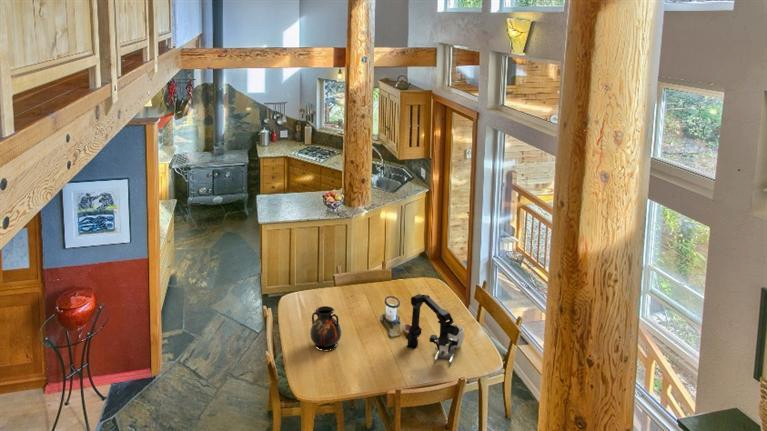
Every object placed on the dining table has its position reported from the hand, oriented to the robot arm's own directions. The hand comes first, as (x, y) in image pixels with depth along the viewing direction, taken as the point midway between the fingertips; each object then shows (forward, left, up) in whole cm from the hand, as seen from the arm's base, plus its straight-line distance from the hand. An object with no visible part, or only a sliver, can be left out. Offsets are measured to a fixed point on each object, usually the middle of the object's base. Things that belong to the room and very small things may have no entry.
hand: (443, 351), depth 430 cm
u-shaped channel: (-1, +5, -7) cm, 9 cm away
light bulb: (0, -1, -1) cm, 2 cm away
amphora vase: (-83, -1, -8) cm, 83 cm away
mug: (+3, +22, -8) cm, 23 cm away
